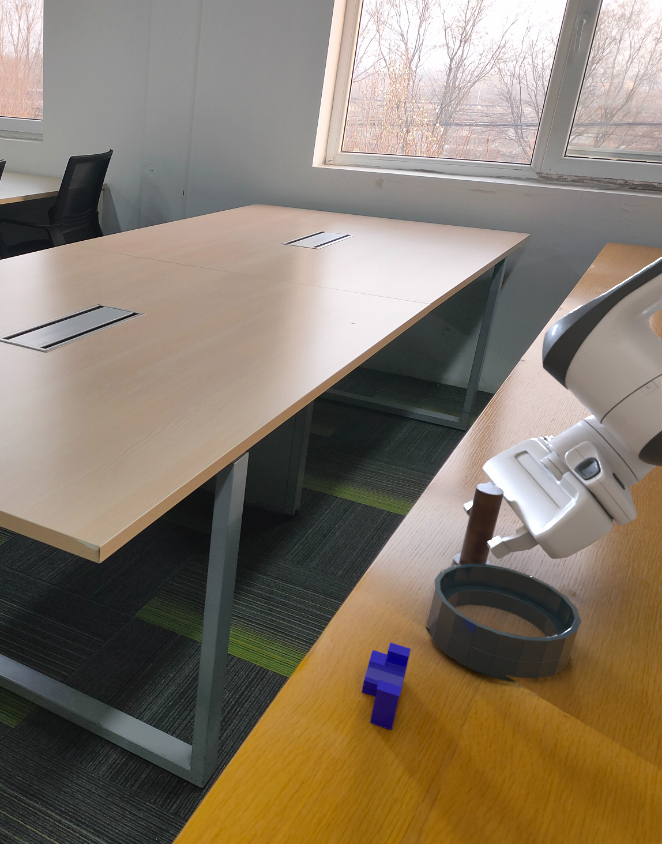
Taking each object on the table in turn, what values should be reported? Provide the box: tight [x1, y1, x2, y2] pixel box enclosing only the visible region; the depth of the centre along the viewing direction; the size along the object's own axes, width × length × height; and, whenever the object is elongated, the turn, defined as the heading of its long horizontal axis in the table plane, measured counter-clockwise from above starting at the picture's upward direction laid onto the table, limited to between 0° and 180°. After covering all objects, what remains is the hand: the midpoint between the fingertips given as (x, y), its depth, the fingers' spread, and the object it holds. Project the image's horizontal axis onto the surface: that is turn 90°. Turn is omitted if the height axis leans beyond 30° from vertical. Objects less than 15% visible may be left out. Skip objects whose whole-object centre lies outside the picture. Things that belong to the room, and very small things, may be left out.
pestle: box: [450, 483, 504, 567], centre depth 97 cm, size 4×4×13 cm
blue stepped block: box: [361, 642, 412, 731], centre depth 79 cm, size 8×4×4 cm, turn 153°
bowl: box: [425, 563, 582, 683], centre depth 87 cm, size 14×14×6 cm
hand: (478, 531), depth 97 cm, fingers open, 8 cm apart
